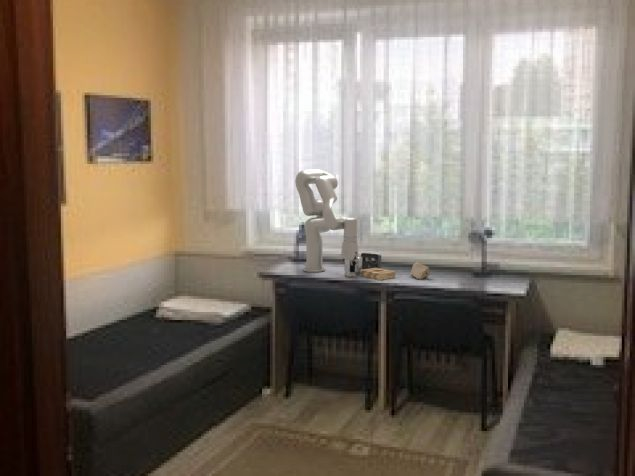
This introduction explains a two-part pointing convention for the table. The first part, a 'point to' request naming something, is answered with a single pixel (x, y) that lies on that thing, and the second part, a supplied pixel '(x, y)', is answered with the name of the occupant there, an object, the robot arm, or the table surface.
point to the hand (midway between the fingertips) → (349, 271)
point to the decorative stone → (420, 271)
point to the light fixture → (371, 260)
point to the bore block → (377, 273)
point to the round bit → (358, 266)
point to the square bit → (348, 268)
